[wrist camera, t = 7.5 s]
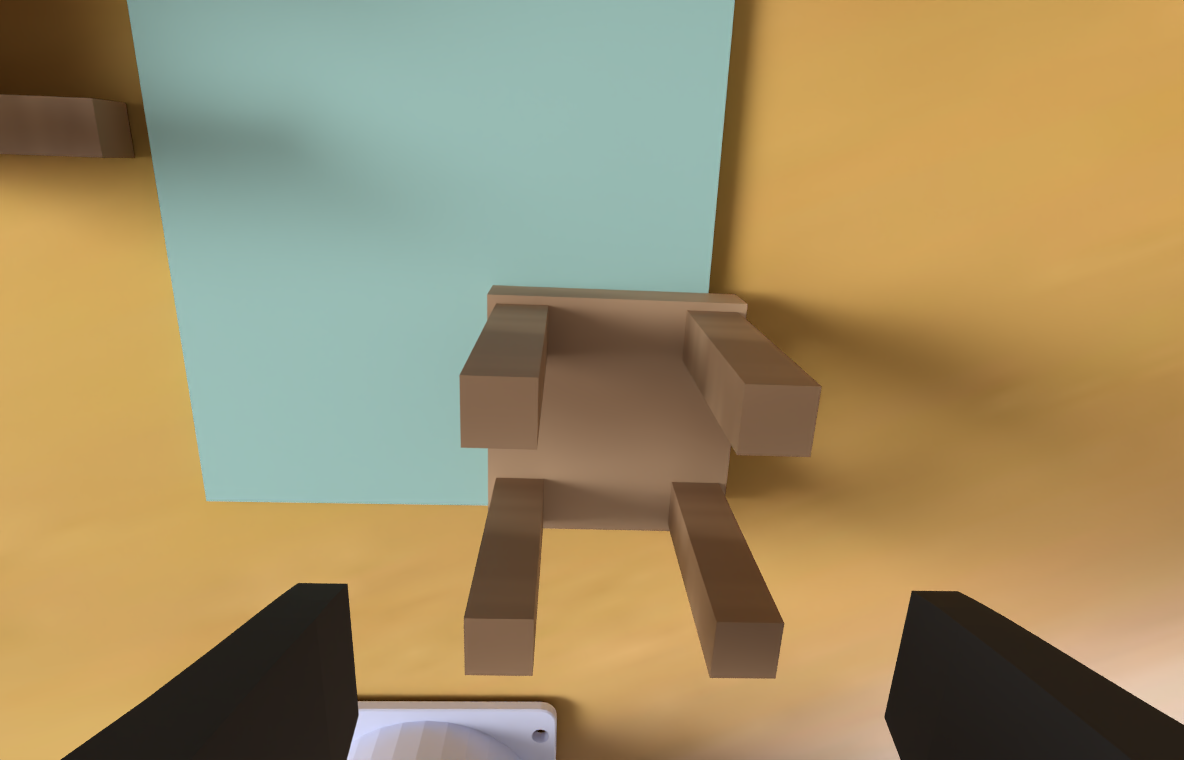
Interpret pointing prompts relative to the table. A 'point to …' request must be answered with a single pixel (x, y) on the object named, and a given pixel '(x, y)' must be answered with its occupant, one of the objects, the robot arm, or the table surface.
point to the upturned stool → (625, 452)
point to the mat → (408, 209)
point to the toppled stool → (64, 127)
